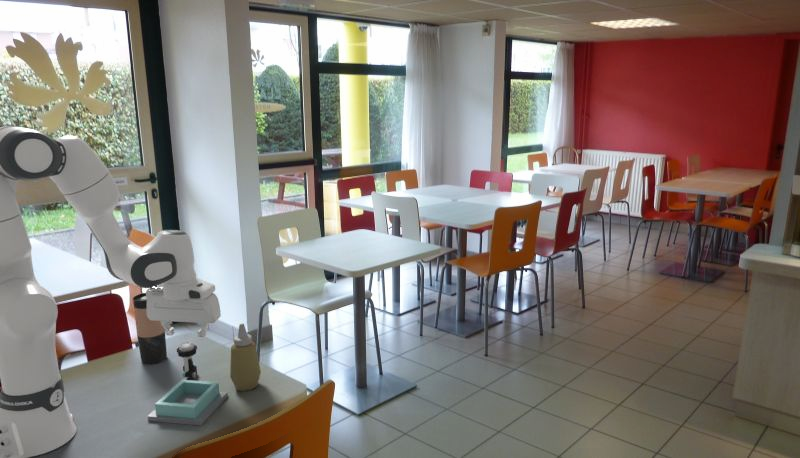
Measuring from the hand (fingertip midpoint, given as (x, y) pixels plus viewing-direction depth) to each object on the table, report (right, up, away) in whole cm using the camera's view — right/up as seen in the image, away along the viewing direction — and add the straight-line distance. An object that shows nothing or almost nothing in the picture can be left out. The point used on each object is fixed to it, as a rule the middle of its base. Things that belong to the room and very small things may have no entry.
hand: (186, 335), depth 159 cm
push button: (0, -13, +3) cm, 13 cm away
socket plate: (+5, -16, -12) cm, 21 cm away
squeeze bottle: (+17, -14, -1) cm, 22 cm away
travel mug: (-15, -10, +15) cm, 24 cm away
